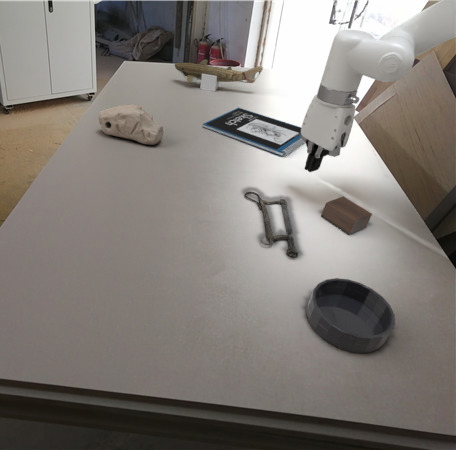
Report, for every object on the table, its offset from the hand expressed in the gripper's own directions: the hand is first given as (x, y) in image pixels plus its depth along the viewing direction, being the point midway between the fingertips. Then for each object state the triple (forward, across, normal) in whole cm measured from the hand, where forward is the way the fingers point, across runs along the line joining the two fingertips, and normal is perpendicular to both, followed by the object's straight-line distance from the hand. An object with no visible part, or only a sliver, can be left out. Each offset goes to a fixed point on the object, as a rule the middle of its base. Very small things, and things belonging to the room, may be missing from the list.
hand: (311, 169), depth 97 cm
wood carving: (+9, +75, -28) cm, 80 cm away
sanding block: (+8, -12, 0) cm, 15 cm away
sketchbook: (+8, +35, -16) cm, 39 cm away
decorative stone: (+9, +49, +24) cm, 55 cm away
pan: (+8, -32, +24) cm, 41 cm away
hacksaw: (+8, -4, +16) cm, 18 cm away
